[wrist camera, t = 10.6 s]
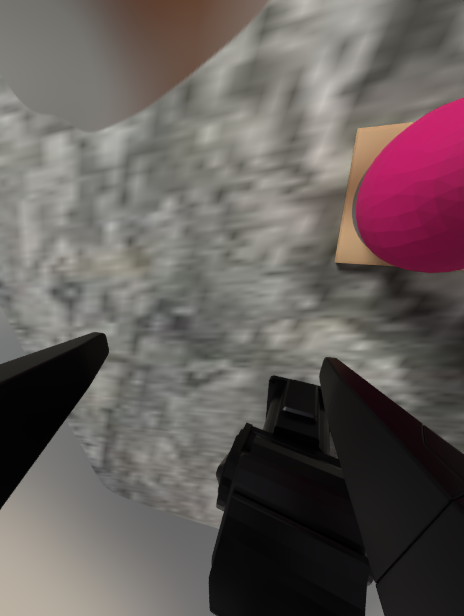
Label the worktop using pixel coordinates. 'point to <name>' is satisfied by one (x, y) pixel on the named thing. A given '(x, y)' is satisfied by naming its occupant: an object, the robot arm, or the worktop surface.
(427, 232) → the pepper mill
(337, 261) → the dock
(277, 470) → the robot arm
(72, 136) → the worktop surface
